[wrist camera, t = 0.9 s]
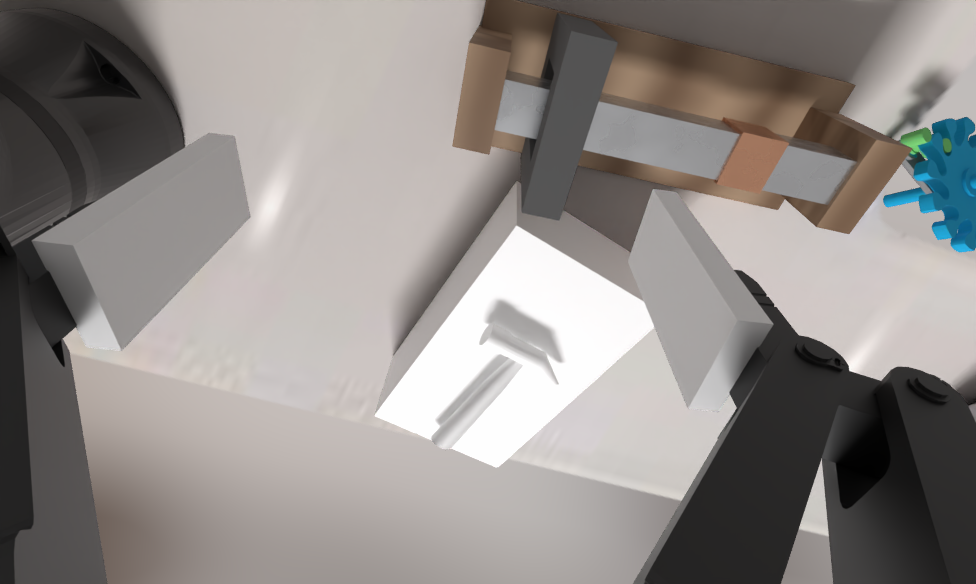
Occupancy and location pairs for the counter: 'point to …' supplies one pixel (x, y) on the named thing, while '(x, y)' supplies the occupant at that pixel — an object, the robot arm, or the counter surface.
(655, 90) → the wooden stand
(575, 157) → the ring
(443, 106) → the counter surface
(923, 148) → the gear
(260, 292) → the counter surface
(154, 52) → the counter surface
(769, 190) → the light grey bar
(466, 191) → the counter surface
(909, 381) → the robot arm
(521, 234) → the white pegged block
